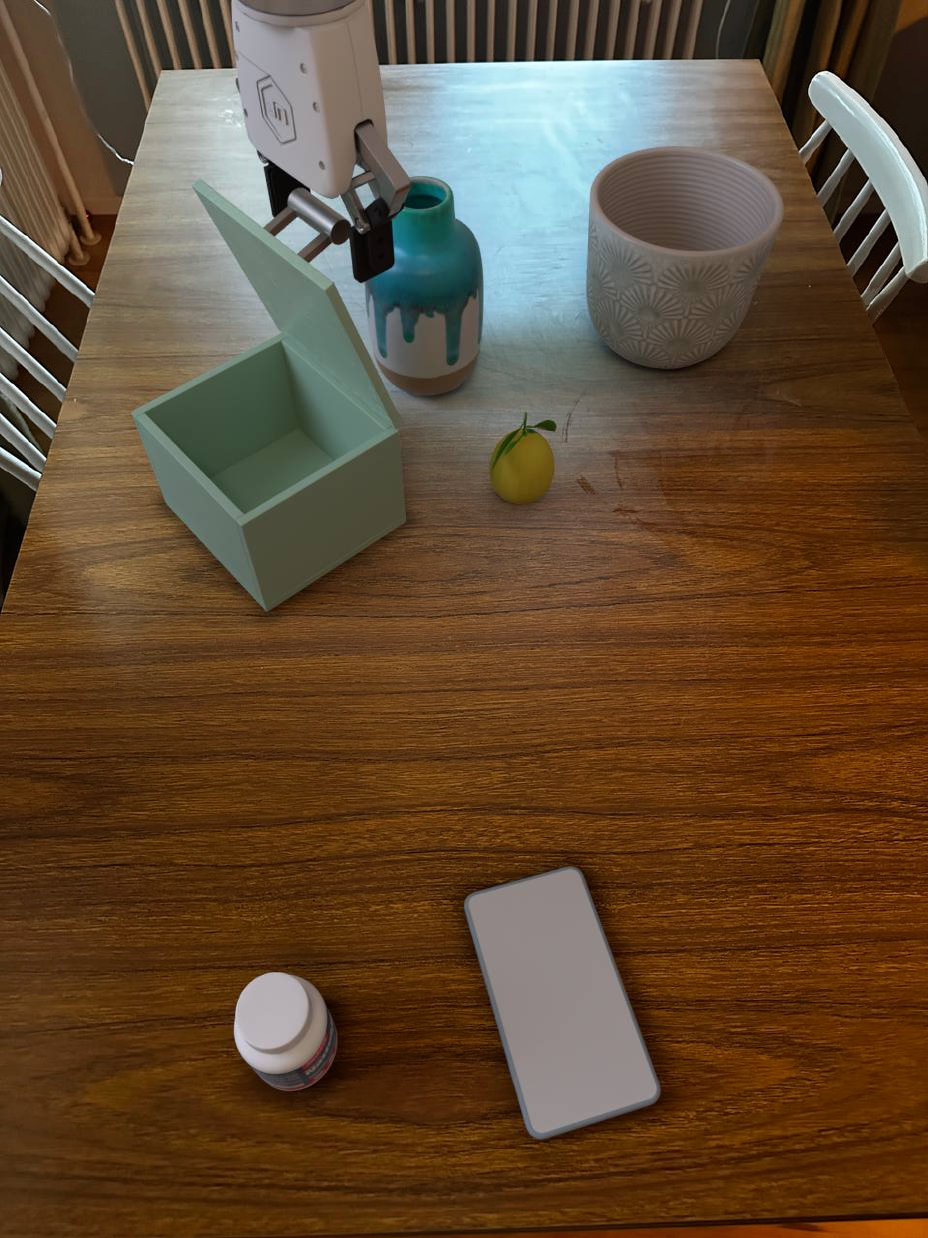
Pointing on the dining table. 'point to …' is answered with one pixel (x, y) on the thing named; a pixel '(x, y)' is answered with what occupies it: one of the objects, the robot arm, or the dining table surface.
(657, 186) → the planter
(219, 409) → the green box
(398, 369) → the vase
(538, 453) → the lemon
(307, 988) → the pill bottle
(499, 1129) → the dining table surface
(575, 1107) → the smartphone
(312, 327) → the box lid
